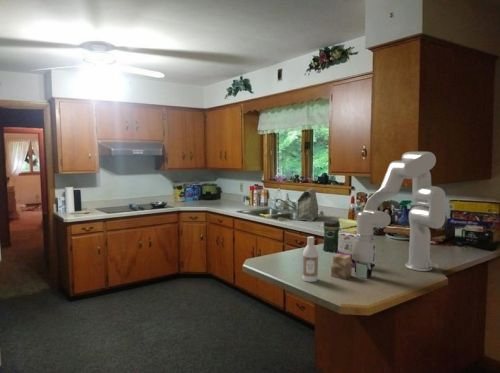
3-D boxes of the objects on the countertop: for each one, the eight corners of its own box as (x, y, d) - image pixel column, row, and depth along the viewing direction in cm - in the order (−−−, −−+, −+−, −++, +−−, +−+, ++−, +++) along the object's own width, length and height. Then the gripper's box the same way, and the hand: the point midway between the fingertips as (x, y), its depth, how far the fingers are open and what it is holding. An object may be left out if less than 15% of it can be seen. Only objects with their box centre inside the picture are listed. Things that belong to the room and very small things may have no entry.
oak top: (350, 266, 175) (350, 255, 175) (344, 269, 171) (345, 258, 170) (338, 263, 179) (339, 253, 179) (332, 266, 175) (333, 256, 174)
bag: (301, 216, 342) (302, 187, 340) (319, 217, 336) (319, 188, 334) (295, 220, 321) (295, 189, 319) (313, 222, 315) (314, 190, 313)
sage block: (370, 275, 176) (370, 263, 176) (366, 278, 172) (366, 266, 172) (360, 273, 179) (360, 261, 179) (355, 276, 176) (356, 263, 175)
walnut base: (351, 276, 176) (351, 265, 176) (344, 280, 171) (345, 269, 170) (337, 273, 180) (338, 263, 180) (331, 276, 175) (331, 266, 175)
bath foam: (302, 281, 167) (302, 238, 166) (302, 276, 174) (303, 235, 172) (317, 282, 166) (318, 239, 164) (317, 277, 173) (318, 235, 171)
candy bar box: (360, 265, 192) (361, 234, 190) (355, 267, 188) (356, 236, 187) (341, 261, 200) (342, 231, 198) (336, 263, 196) (337, 232, 195)
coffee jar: (340, 249, 224) (341, 219, 222) (337, 253, 217) (338, 221, 215) (324, 248, 228) (325, 218, 226) (321, 251, 221) (322, 220, 219)
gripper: (385, 239, 172) (383, 277, 173) (350, 234, 182) (349, 269, 184) (379, 242, 166) (378, 281, 168) (344, 236, 177) (342, 273, 178)
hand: (363, 275), depth 176 cm, fingers closed on sage block, 5 cm apart
